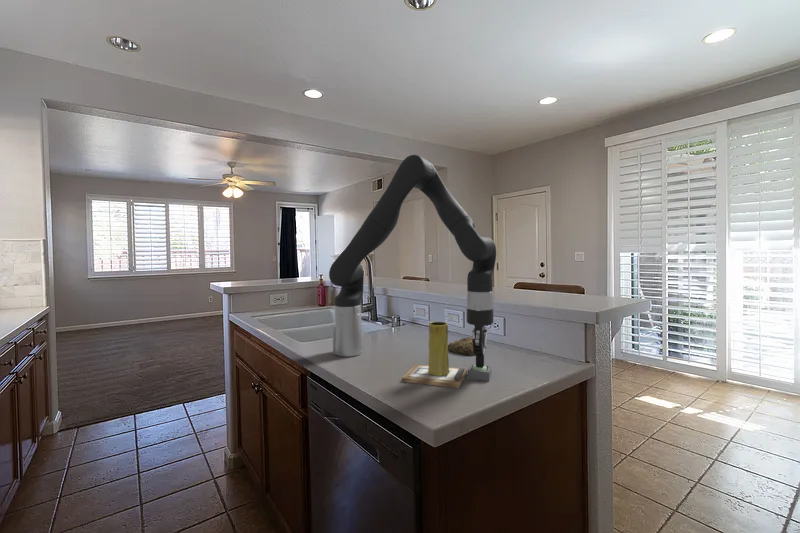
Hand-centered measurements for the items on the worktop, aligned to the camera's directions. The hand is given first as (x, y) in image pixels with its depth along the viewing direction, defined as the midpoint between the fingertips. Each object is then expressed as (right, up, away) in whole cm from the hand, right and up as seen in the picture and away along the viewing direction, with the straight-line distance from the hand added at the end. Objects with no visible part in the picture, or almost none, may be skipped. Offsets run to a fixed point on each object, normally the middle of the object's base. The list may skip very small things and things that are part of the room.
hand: (480, 366), depth 108 cm
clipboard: (-13, -3, 0) cm, 13 cm away
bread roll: (+1, -2, +28) cm, 28 cm away
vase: (-12, -2, 0) cm, 12 cm away
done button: (0, -2, 0) cm, 2 cm away
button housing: (0, -3, 0) cm, 3 cm away
